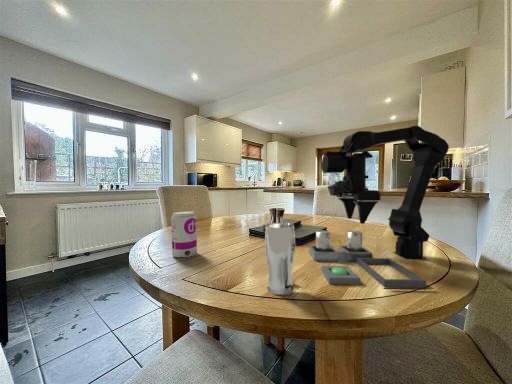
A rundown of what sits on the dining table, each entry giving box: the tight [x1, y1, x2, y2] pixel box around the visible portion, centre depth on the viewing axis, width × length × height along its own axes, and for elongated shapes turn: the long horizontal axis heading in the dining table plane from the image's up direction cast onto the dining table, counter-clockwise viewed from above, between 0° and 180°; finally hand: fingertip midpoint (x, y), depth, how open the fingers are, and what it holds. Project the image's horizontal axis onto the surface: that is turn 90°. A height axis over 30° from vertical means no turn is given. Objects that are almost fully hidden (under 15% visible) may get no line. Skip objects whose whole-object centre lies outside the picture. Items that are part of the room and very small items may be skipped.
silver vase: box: [264, 222, 296, 296], centre depth 49 cm, size 7×7×15 cm
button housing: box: [321, 265, 361, 285], centre depth 52 cm, size 7×7×2 cm
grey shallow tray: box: [308, 245, 373, 264], centre depth 67 cm, size 17×10×4 cm, turn 87°
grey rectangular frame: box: [356, 257, 427, 291], centre depth 54 cm, size 9×14×2 cm, turn 177°
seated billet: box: [315, 230, 331, 252], centre depth 67 cm, size 4×4×8 cm
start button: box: [332, 267, 347, 275], centre depth 52 cm, size 4×4×2 cm
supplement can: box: [171, 210, 198, 258], centre depth 73 cm, size 8×8×15 cm
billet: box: [346, 230, 363, 252], centre depth 66 cm, size 4×4×8 cm
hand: (355, 220), depth 67 cm, fingers open, 9 cm apart
